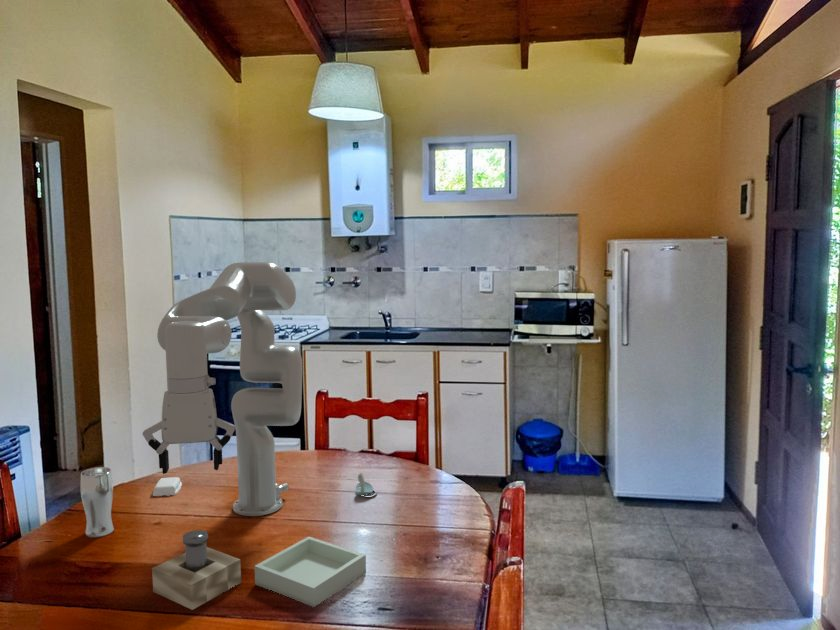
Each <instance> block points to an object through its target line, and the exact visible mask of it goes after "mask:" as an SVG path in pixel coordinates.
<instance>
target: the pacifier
mask: <svg viewBox="0 0 840 630" xmlns="http://www.w3.org/2000/svg"><path fill="white" fill-rule="evenodd" d="M357 480H358V482H359V483H357V485H356V486H355V490H356V491H354V494H356V495H359V494H360V495H364V496H371V495H372V494H371V493H374V492H373V489H374V488H373V485H372V484H371V483H369V482H367V481H366V480H365V477H364V474H363V472H359V474H358V475H357ZM366 494H368V495H366ZM360 495H359V496H360Z"/></svg>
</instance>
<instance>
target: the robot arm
mask: <svg viewBox="0 0 840 630" xmlns="http://www.w3.org/2000/svg"><path fill="white" fill-rule="evenodd" d="M296 291H297V290H296V286H295V283H294V281H293V279H291V277H290V276H289V275H288V274H287V273H286V272H285V271H284V269H282V267H280V266H279V265H278V264H275V263H274V262H268V261H267V262H255V261H254V262H253V261H251V262H248V261H247V262H245V261H244V262H243V261H241V262H235V263H234V262H233V263H230V264H228V265H227V266H226V267H225V268H224V269H223V270H222V272H221V273H220V274H219V276H217V278H216V280H215V281H214V282H213V283H212V285H211V286H210V287H209V288H207V289H205V290H202V291H200V292H197V293H196V294H193V295H190V296H188V297H186V298H183V299H181V300H180V301H178V302H176V303H175V304H173V305H172V307H171V308H169V309H168V310H167V312H166V313H165V315H164V316H163V318H162V319H161V321H160V323H159V325H158V327H157V342H158V344H159V346H160V347H161V348H162V349H163V350H164V351H165V366H166V387H167V390H166V391H164V393H163V397H162V399H163V400H162V406H161V420H160V421H159V422H157V423H155V424H153V425H152V426H151V425H150V426H149V427H147V428H146V429H144V430H143V431H142V436H143V437H144V440H145V441H146V442H147V444H148V446H149V447H150V448H152V449H153V450H154V451H155V452H156V454H158V465H159V466H158V467H159V469H161V470H162V474H163V475H164V474H167V473H168V472H169V469H170V463H169V462H170V459H169V450H168V449H167V448H168V446H169V445H177V444H178V445H181V444H195V443H197V444H198V443H210V444H211V445H212V447H214V449H213V469H214V470H215V471H218V470H219V467H220V465H223V448H224V447H225V446H226V445H227V444H228V442H230V441H231V438H232V437H233V434H234V432H235V436H236V452H237V453H236V456H237V458H236V460H237V461H236V462H237V483H238V484H237V486H238V487H237V488H238V499H236V500H235V501H234V502H233V504H232V510H233V512H234V513H236V514H238V515H239V516H242V517H243V516H244V517H259V516H264V515H265V516H266V515H269V514H273V513H275V512H277V511H278V510H280V509H281V508H282V507H283V499H282V498H281V497H280V495H281V494H282V493H283V492H285V491H287V490H289V489H290V485H289V484H288V482H285V483H282V484H280V485H279V484H278V483H277V481H276V473H277V472H276V449H275V448H276V444H275V443H276V442H275V439H274V435H273V433H272V432H271V430H270V429H269V428H268V426H269V427H270V426H271V427H272V426H273V427H274V426H275V427H276V426H277V427H279V426H280V427H284V426H285V427H286V426H287V427H288V426H289V427H290V426H294V425H296V424H297V423H298V422H299V421H300V418H301V415H302V414H301V413H302V401H303V400H302V399H303V397H302V395H303V357H302V355H301V353H300V351H299V350H298V349H297V347H294V346H290V345H289V346H288V345H275V332H276V331H275V325H274V323H273V321H272V319H271V318H270V317H269V316H268V314H267V313H266V312H265V311H280V312H281V311H287V310H290V309H291V308H292V307H293V306H294V305H295V302H296V299H297V292H296ZM236 317H237V318H238V321H239V326H240V338H241V339H240V354H239V372H240V374H239V375H240V377H241V378H242V380H243V381H246V382H249V383H259V384H260V383H261V384H262V383H264V384H265V383H268V384H269V383H270V384H275V383H276V384H281V386H282V388H279V387H278V388H276V387H275V388H274V387H247V388H242V389H240V390H238V391H237V392H235V394H234V395H233V396H232V399H231V412H232V418H233V423H234V424H233V423H232V422H228V421H226V420H223V419H221V418H219V417H218V415H217V406H216V399H215V395H214V392H213V389H212V388H210V386H213V385H216V383H217V382H216V377H210V375H209V373H208V355H209V354H217V353H221V352H222V351H224V350H226V349H227V347H229V344H230V343H231V340H232V327H231V325H230V323H229V322H228V320H231V319H234V318H236ZM207 354H208V355H207ZM218 428H221V429H223V430H225V431H226V433H225V434H224V435H223V436H222V437H221V438H220V437H219V436H218V435H217V433H218ZM159 431H160V433H161V440H162V441H161V442H160V441H159V440H158V439H156V437H154V434H155V433H156V432H159Z"/></svg>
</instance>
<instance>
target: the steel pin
mask: <svg viewBox="0 0 840 630" xmlns="http://www.w3.org/2000/svg"><path fill="white" fill-rule="evenodd" d="M208 540H209V532H208V531H207V530H204V529H203V530H202V529H197V530H196V529H195V530H190V531H187V532H185V533H184V534H183V535H182V543H183V545H184V547H185V548H184V549H185V552H186V569H187V570H189V571H192V572H194V573H195V572H197V571H199V570H201V569H203V568H205V567H207V548H206V547H207V541H208ZM185 552H184V553H185Z"/></svg>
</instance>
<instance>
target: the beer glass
mask: <svg viewBox="0 0 840 630" xmlns="http://www.w3.org/2000/svg"><path fill="white" fill-rule="evenodd" d="M113 482H114V481H113V475H112V469H111V468H109V467H106V466H98V467H96V466H95V467H91V468H87V469H85V470H82V472H81V473H80V497H81V498H80V499H81V502H82V506H83V509H84V510H83V511H84V513H85V518H86V528H85V536H87V537H88V538H101V537H104V536H107V535H109V534H111V533H113V531H114V529H115V528H114V525H113V520H112V506H113V497H114V484H113Z"/></svg>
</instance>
